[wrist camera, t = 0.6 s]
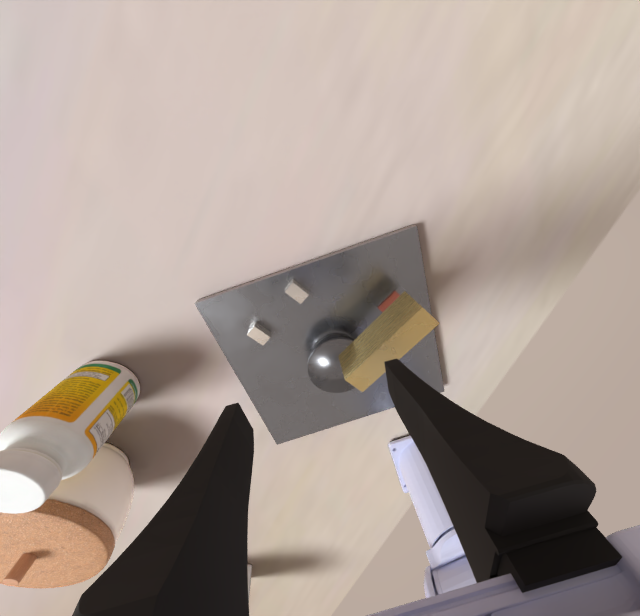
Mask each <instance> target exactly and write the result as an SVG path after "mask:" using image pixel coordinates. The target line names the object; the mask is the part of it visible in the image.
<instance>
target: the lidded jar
mask: <svg viewBox="0 0 640 616" xmlns="http://www.w3.org/2000/svg"><path fill="white" fill-rule="evenodd" d="M133 493H134V479H133V474H132V471H131V469H130V466H129V460H128V457H127V456H126V454H125V453H124V452H123V451H121V450H120V449H119V448H117V447H115V446H113V445H111V444H108V443H104V444H103V446H102V447H101V448H100V450H99V451H98V452H97V454H96V455H95V456H94V458H93V459H92V460H91V462H90V463H89V464H88V465H87V466H86V467H85V468H84V469H83V470H82V471H80V472H79V473H77V474H76V475H74V476H72V477H69V478H67V479H64V480H61V481H60V484H59V486H58V487H57V488H56V489H55V490H54V491H53V493H52V494H51V495H50V496H49V497H48V499H47V500H46V501H45V502H44V503H43V504H42V505H41V506H40V507H39V508H37V509H35V510H32V511H29V512H25V513H17V514H12V513H2V512H0V584H5V585H7V586H16V587H25V588H54V587H63V586H68V585H73V584H76V583H80V582H83V581H85V580H87V579H90V578H91V577H93V576H95V575H96V574H98V573H99V572H100V571H101V570H102V569H103V568H104V567H105V566H106V564H107V563H108V561H109V559H110V557H111V554H112V552H113V549H114V547H115V543H116V541H117V539H118V537H119V535H120V533H121V531H122V529H123V526H124V524H125V521H126V519H127V516H128V513H129V511H130V507H131V504H132V500H133Z"/></svg>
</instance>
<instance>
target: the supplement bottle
mask: <svg viewBox="0 0 640 616" xmlns="http://www.w3.org/2000/svg"><path fill="white" fill-rule="evenodd" d="M139 394H140V384H139V381H138V379H137V377H136V376H135V375H134V374H133V373H132V372H131V371H130V370H129V369H127V368H126V367H124V366H122V365H120V364H117V363H113V362H109V361H92V362H89V363H86V364H84V365H82V366H80V367H79V368H78V369H76V370H75V371H74V372H73V373H71V374H70V375H69V376H68V377H67V378H65V379H64V380H63V381H62V382H60V383H59V384H58V385H57V386H56V387H54V388H53V389H52V390H51V391H49V392H48V393H47V394H46V395H45V396H43V397H42V398H41V399H40V400H39V401H37V402H36V403H35V404H34V405H33V406H31V407H30V408H29V409H28V410H26V411H25V412H24V413H23V414H22V415H20V416H19V417H18V418H17V419H15V420H14V421H13V422H12V423H11V424H9V425H8V426H7V427H6V428H5V429H4V430H3V431H2V432H1V434H0V512H2V513H12V514H17V513H25V512H29V511H32V510H35V509H37V508H39V507H40V506H41V505H42V504H43V503H44V502H45V501H46V500H47V499H48V497H49V496H50V495H51V494H52V493H53V491H54V490H55V489H56V488H57V487H58V486H59V484H60V481H61V480H64V479H67V478H69V477H72V476H74V475H76V474H77V473H79V472H80V471H82V470H83V469H84V468H85V467H86V466H87V465H88V464H89V463H90V462H91V460H92V459H93V458H94V456H95V455H96V454H97V452H98V451H99V450H100V448H101V447H102V446H103V444H104V443H105V442H106V440H107V439H108V438H109V436H110V435H111V434H112V432H113V431H114V430H115V428H116V427H117V426H118V424H119V423H120V422H121V420H122V419H123V418H124V417H125V415H126V414H127V413H128V411H129V410H130V409H131V407H132V406H133V404H134V403H135V402H136V400H137V399H138V397H139Z"/></svg>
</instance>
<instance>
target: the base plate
mask: <svg viewBox="0 0 640 616" xmlns="http://www.w3.org/2000/svg"><path fill="white" fill-rule="evenodd" d="M404 291H405V292H406V293H408V294H409V295H410V296H411V297H412V298H413V299H414V300H415V301H416V302H417V303H418V304H420V305H421V306H422V307H423V308H424V309H425V310H426V311H427V312H428V313H429V314H430V315H431V316H432V314H431V308H430V302H429V296H428V290H427V284H426V278H425V272H424V266H423V260H422V254H421V248H420V242H419V235H418V229H417V226H415V225H410V226H407V227H405V228H402V229H399V230H396V231H393V232H390V233H387V234H385V235H382V236H379V237H376V238H373V239H370V240H367V241H364V242H362V243H359V244H356V245H353V246H350V247H347V248H344V249H342V250H339V251H336V252H333V253H330V254H327V255H324V256H322V257H319V258H316V259H313V260H310V261H307V262H304V263H302V264H299V265H296V266H293V267H290V268H287V269H284V270H282V271H279V272H276V273H273V274H270V275H267V276H264V277H262V278H259V279H256V280H253V281H250V282H247V283H244V284H242V285H239V286H236V287H233V288H230V289H227V290H224V291H222V292H219V293H216V294H213V295H210V296H207V297H204V298H202V299H199V300H197V302H196V303H195V305H196V307H197V308H198V310H199V312H200V313H201V315H202V317H203V319H204V320H205V322H206V324H207V325H208V327H209V329H210V331H211V332H212V334H213V336H214V337H215V339H216V341H217V343H218V344H219V346H220V348H221V349H222V351H223V353H224V355H225V356H226V358H227V360H228V361H229V363H230V365H231V367H232V368H233V370H234V372H235V373H236V375H237V377H238V379H239V380H240V382H241V384H242V385H243V387H244V389H245V390H246V392H247V394H248V396H249V397H250V399H251V401H252V402H253V404H254V406H255V408H256V409H257V411H258V413H259V414H260V416H261V418H262V420H263V421H264V423H265V425H266V426H267V428H268V430H269V432H270V433H271V435H272V437H273V438H274V440H275V442H276V444H280V443H283V442H287V441H290V440H293V439H296V438H299V437H302V436H305V435H309V434H312V433H315V432H318V431H321V430H324V429H327V428H331V427H334V426H337V425H340V424H343V423H346V422H349V421H353V420H356V419H359V418H362V417H365V416H368V415H371V414H375V413H378V412H381V411H384V410H387V409H390V408H393V407H395V406H394V403H393V401H392V399H391V396H390V394H389V391H388V384H387V377H386V372H385V373H384V374H383V375H381V376H380V377H379V378H378V379H377V380H376V381H375V382H374V383H373V384H371V385H370V386H369V387H368V388H367V389H366V390H365V391H364V392H361V391H360V390H358V389H357V388H354V389H352V390H350V391H347V392H342V393H330V392H326V391H323V390H321V389H319V388H318V387H316V386H315V385H314V384H313V383H312V381H311V380H310V378H309V375H308V367H307V361H308V357H309V354H310V352H311V350H312V349H313V348H314V347H315V346H316V345H317V344H318V343H319V342H321V341H322V340H324V339H326V338H329V337H332V336H349V337H352V338H354V339H356V338H357V337H358V336H359V335H360V334H361V333H362V332H363V331H364V330H365V329H366V328H367V327H368V326H369V325H370V324H371V323H372V322H373V321H375V320H376V319H377V318H378V317H379V316H380V315H381V314H382V313H383V312H384V311H385V310H386V309H387V308H388V307H389V306H390V305H391V304H392V303H393V302H394V301H395V300H396V299H397V298H398V297H399V296H400V295H401V294H402V293H403V292H404ZM399 360H400V361H401V362H402V363H403V364H404V365H405V366H406V367H407V368H409V369H410V370H411V371H412V372H413V373H414V374H416V375H417V376H418V377H419V378H421V379H422V380H423V381H424V382H426V383H427V384H428V385H430V386H431V387H432V388H433V389H435V390H436V391H438V392H439V393H441V392H444V386H443V380H442V374H441V368H440V362H439V356H438V350H437V344H436V338H435V332H434V329H433V330H432V331H431V332H429V333H428V334H427V335H426V336H425V337H424V338H423V339H422V340H420V341H419V342H418V343H417V344H416V345H415V346H414V347H413V348H412V349H410V350H409V351H408V352H407V353H406V354H405V355H404V356H403V357H402V358H400V359H399Z"/></svg>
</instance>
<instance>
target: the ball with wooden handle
mask: <svg viewBox="0 0 640 616" xmlns="http://www.w3.org/2000/svg"><path fill="white" fill-rule="evenodd" d="M438 324H439V322H438V321H437V320H436V319H434V318H433V317H432V316H431V315H430V314H429V313H428V312H427V311H426V310H425V309H424V308H423V307H422V306H421V305H420V304H418V303H417V302H416V301H415V300H414V299H413V298H412V297H411V296H410V295H409V294H408V293H406V292H405V291H404V292H403V293H402V294H401V295H400V296H399V297H398V298H397V299H396V300H395V301H394V302H393V303H392V304H391V305H390V306H389V307H388V308H387V309H386V310H385V311H384V312H383V313H382V314H381V315H380V316H379V317H378V318H377V319H376V320H375V321H373V322H372V323H371V324H370V325H369V326H368V327H367V328H366V329H365V330H364V331H363V332H362V333H361V334H360V335H359V336H358V337H357V338H356V339H354V338H352V337H349V336H332V337H329V338H326V339H324V340H322V341H321V342H319V343H318V344H317V345H316V346H315V347H314V348H313V349H312V350H311V352H310V354H309V357H308V361H307V367H308V375H309V378H310V380H311V381H312V383H313V384H314V385H315V386H316V387H318V388H319V389H321V390H323V391H326V392H330V393H342V392H347V391H350V390H352V389H354V388H357V389H358V390H360V391H361V392H364V391H365V390H366V389H367V388H368V387H369V386H370V385H371V384H373V383H374V382H375V381H376V380H377V379H378V378H379V377H380V376H381V375H383V374H384V373H385V372H386V371H385V364H384V362H385V361H389V360H393V359H396V358H397V359H400V358H402V357H403V356H404V355H405V354H406V353H407V352H408V351H409V350H410V349H412V348H413V347H414V346H415V345H416V344H417V343H418V342H419V341H420V340H422V339H423V338H424V337H425V336H426V335H427V334H428V333H429V332H431V331H432V330H433V329H434V328H435V327H436V326H437V325H438Z"/></svg>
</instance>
